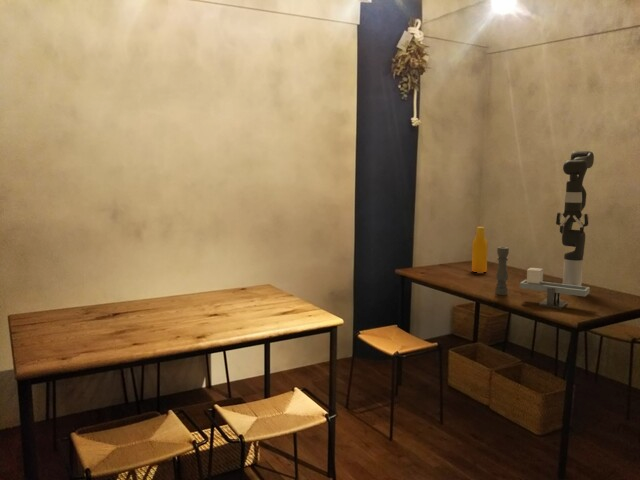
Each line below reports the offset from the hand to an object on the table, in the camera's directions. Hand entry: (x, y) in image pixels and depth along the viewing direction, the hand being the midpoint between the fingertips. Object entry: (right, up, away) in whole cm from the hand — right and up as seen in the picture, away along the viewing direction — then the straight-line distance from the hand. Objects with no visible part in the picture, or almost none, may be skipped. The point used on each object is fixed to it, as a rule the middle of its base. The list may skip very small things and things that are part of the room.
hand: (571, 234), depth 261 cm
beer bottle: (-22, -24, +78) cm, 84 cm away
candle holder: (-27, -32, +21) cm, 47 cm away
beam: (-10, -28, -2) cm, 30 cm away
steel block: (-17, -25, +3) cm, 31 cm away
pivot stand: (-10, -35, -1) cm, 36 cm away
